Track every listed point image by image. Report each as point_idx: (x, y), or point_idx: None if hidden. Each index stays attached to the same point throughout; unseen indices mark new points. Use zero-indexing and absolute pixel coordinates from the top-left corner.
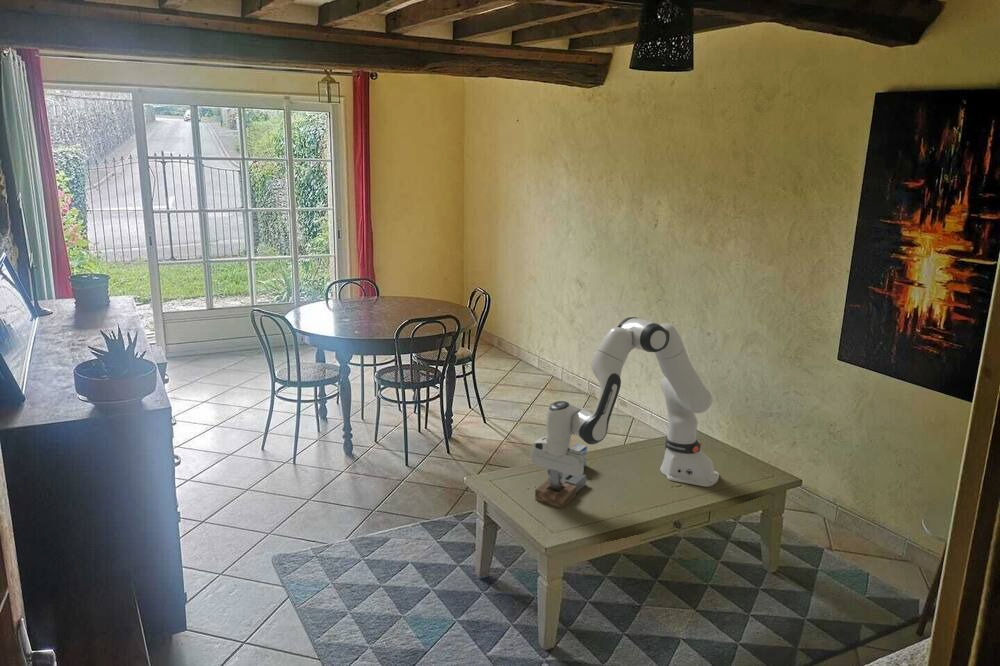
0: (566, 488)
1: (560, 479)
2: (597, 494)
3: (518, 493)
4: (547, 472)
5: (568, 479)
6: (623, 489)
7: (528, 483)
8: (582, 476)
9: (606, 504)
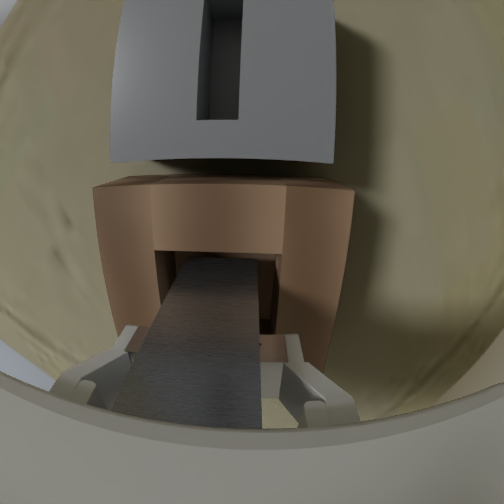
0: (297, 277)
1: (267, 392)
2: (427, 100)
3: (65, 320)
4: (110, 405)
5: (206, 52)
6: (480, 18)
7: (29, 207)
8: (319, 1)
9: (484, 193)
